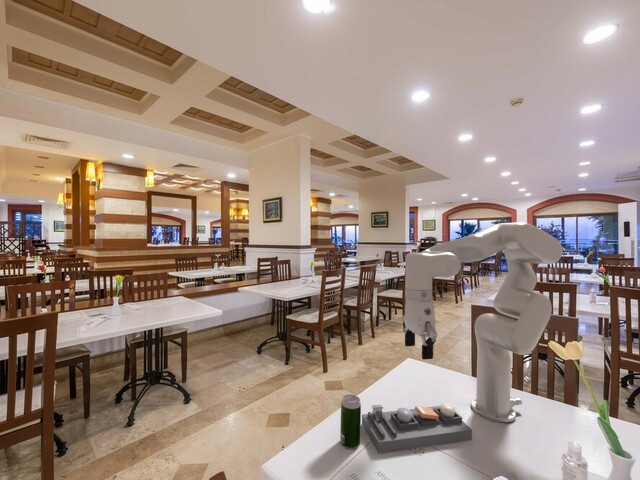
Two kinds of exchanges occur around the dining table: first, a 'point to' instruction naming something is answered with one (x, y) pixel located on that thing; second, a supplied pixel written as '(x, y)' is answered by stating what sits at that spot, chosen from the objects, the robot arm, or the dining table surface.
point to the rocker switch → (426, 412)
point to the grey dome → (404, 415)
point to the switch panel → (414, 431)
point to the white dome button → (447, 410)
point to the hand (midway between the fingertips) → (418, 352)
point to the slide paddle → (377, 412)
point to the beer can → (350, 422)
